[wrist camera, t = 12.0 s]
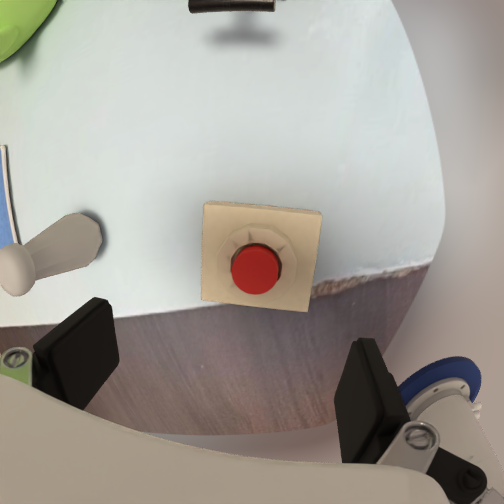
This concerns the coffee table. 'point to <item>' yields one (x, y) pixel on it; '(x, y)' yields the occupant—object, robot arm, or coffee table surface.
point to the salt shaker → (49, 253)
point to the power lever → (230, 5)
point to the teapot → (20, 22)
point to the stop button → (255, 270)
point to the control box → (263, 234)
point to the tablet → (5, 205)
